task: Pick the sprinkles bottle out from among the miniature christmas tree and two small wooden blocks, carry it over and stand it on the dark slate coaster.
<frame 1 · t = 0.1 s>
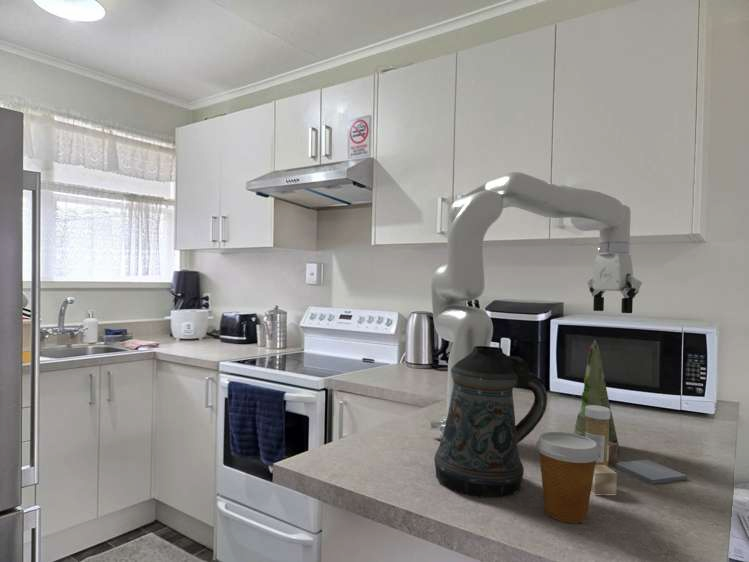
hand: (612, 311, 132), 31 cm above the worktop, tool pointing down, fingers open, 9 cm apart
sprinkles bottle: (595, 476, 95), on the worktop
beer stein: (484, 479, 91), on the worktop
slate coaster: (649, 473, 97), on the worktop
beech block: (599, 490, 88), on the worktop
disposable coffee cup: (565, 515, 78), on the worktop
walnut block: (603, 461, 103), on the worktop
miniature christmas tree: (593, 447, 113), on the worktop
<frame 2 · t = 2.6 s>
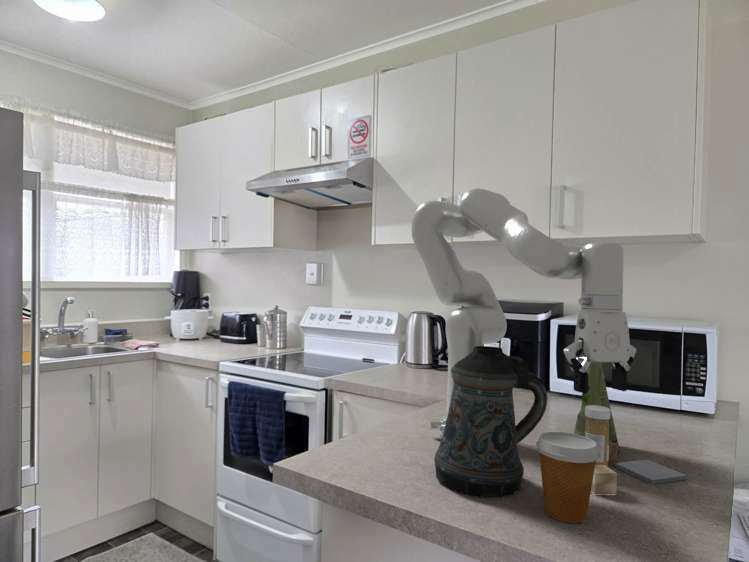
hand: (600, 390, 95), 17 cm above the worktop, tool pointing down, fingers open, 9 cm apart
nothing on the worktop moved.
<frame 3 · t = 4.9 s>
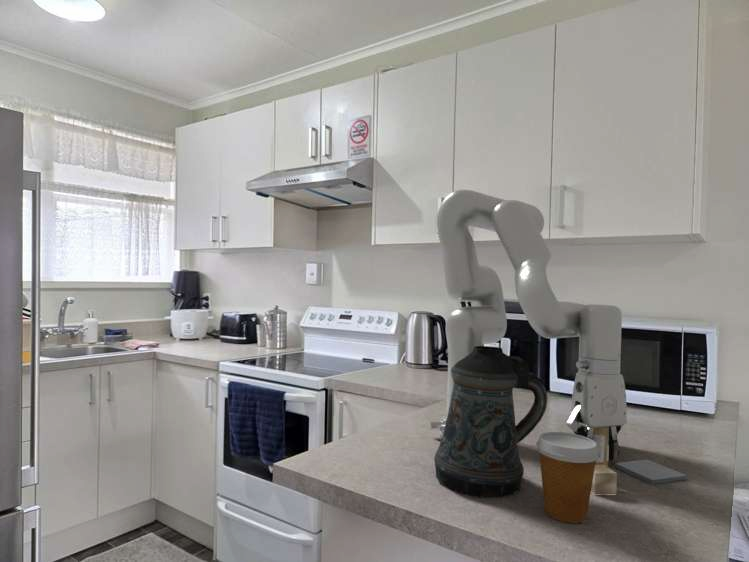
hand: (596, 458, 95), 3 cm above the worktop, tool pointing down, fingers closed on sprinkles bottle, 4 cm apart
sprinkles bottle: (595, 476, 95), on the worktop, touching gripper
everything else where it was.
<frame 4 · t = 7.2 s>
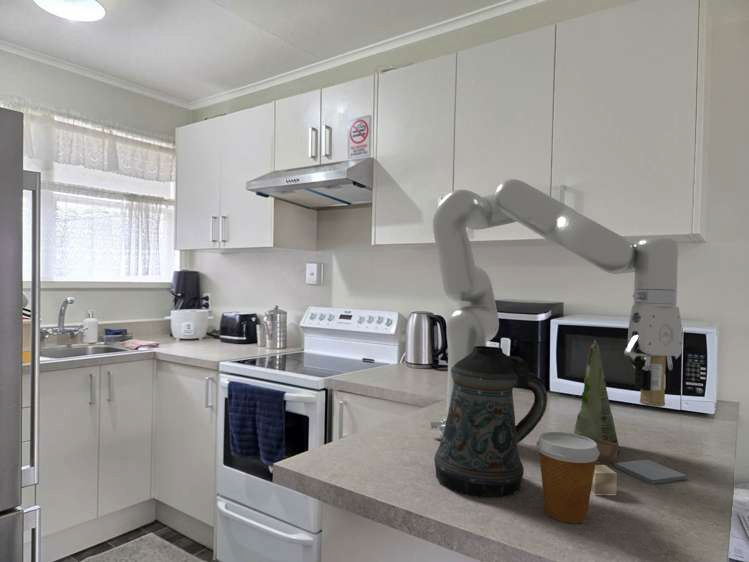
hand: (652, 387, 97), 17 cm above the worktop, tool pointing down, fingers closed on sprinkles bottle, 4 cm apart
sprinkles bottle: (651, 405, 97), point 14 cm above the worktop, touching gripper
everything else where it was.
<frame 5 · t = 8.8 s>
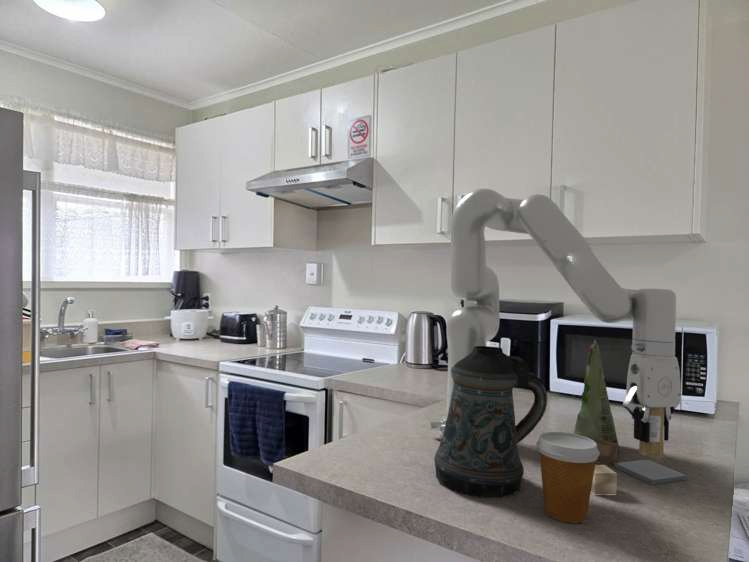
hand: (650, 438, 97), 7 cm above the worktop, tool pointing down, fingers closed on sprinkles bottle, 4 cm apart
sprinkles bottle: (650, 456, 97), point 3 cm above the worktop, touching gripper
everything else where it was.
when the fingers open (5 cm above the worktop, at t = 9.9 s): sprinkles bottle drops 1 cm, resting on slate coaster.
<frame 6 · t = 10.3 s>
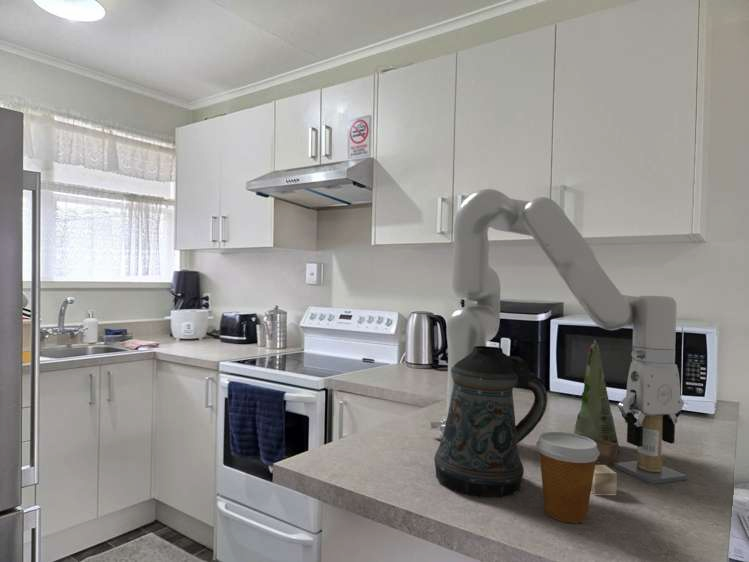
hand: (650, 442, 97), 6 cm above the worktop, tool pointing down, fingers open, 8 cm apart
sprinkles bottle: (648, 470, 97), point 1 cm above the worktop, touching slate coaster
everything else where it was.
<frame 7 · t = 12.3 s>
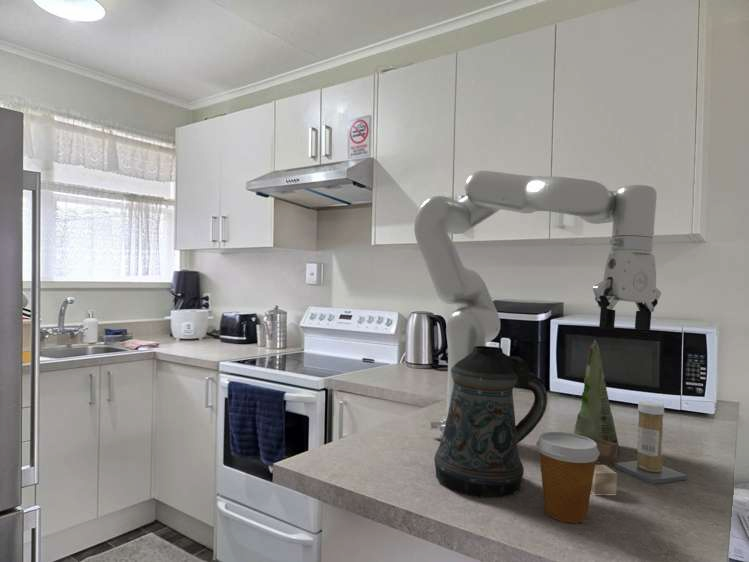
hand: (624, 329, 99), 29 cm above the worktop, tool pointing down, fingers open, 9 cm apart
nothing on the worktop moved.
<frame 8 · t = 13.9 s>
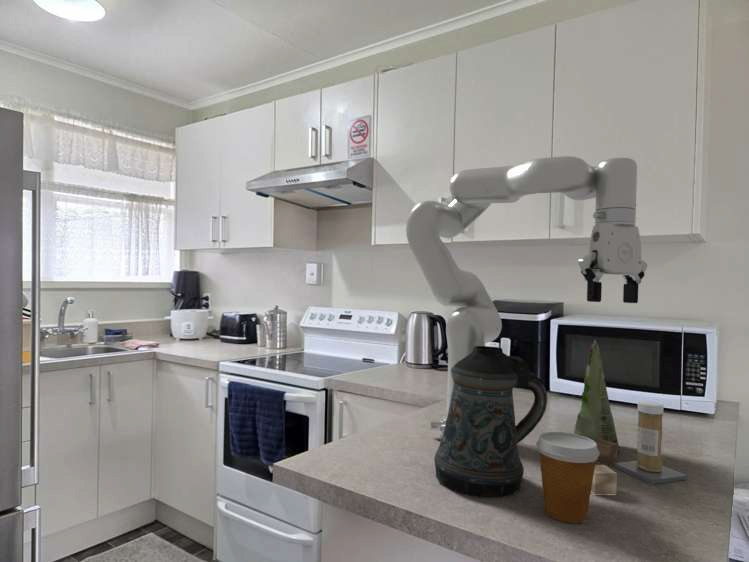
hand: (612, 302, 99), 34 cm above the worktop, tool pointing down, fingers open, 9 cm apart
nothing on the worktop moved.
at the end: sprinkles bottle inside the target area on the slate coaster (0.2 cm from its centre), point 0.6 cm above the slate coaster's base; sprinkles bottle tilted 0°; the gripper is holding nothing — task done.
